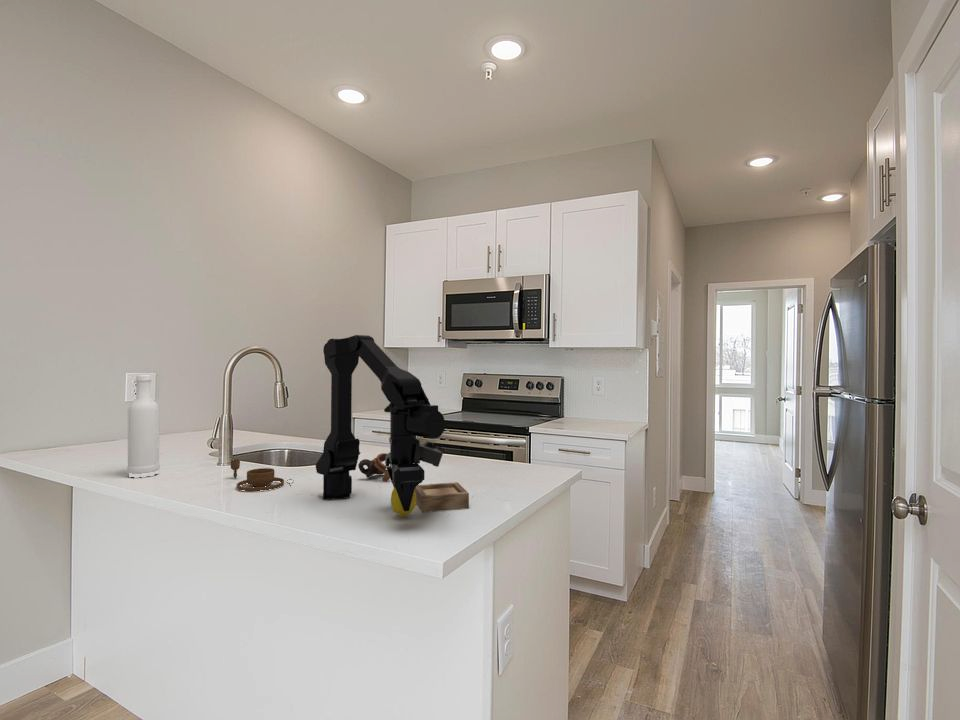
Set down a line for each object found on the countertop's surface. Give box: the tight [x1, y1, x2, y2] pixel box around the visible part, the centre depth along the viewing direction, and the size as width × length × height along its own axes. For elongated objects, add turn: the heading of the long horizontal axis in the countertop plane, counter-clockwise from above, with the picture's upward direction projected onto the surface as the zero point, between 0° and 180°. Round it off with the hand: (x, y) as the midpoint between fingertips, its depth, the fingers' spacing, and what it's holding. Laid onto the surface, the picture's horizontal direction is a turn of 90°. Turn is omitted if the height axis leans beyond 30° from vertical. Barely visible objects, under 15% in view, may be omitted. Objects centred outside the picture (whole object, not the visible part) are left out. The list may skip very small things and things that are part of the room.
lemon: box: [390, 487, 417, 519], centre depth 110 cm, size 6×6×8 cm
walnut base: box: [415, 481, 470, 513], centre depth 121 cm, size 11×11×4 cm
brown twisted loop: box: [357, 452, 391, 483], centre depth 145 cm, size 12×10×8 cm
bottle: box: [126, 374, 161, 474], centre depth 150 cm, size 8×8×30 cm
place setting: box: [230, 459, 295, 491], centre depth 141 cm, size 18×20×6 cm
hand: (403, 504), depth 110 cm, fingers open, 9 cm apart
